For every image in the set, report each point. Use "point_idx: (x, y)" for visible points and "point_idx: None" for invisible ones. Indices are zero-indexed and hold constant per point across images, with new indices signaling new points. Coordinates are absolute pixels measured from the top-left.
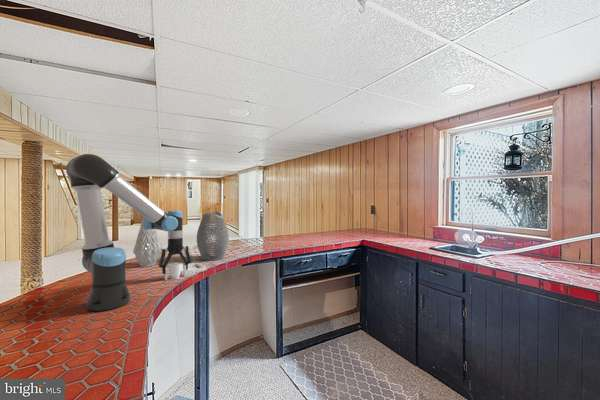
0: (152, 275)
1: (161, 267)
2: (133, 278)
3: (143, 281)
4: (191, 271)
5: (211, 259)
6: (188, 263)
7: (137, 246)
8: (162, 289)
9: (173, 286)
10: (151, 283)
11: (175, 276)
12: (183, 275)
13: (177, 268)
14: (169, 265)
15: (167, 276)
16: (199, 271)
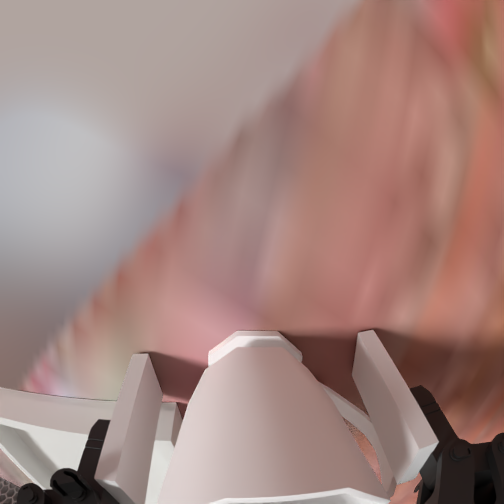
0: (374, 469)
1: (483, 445)
2: (463, 439)
3: (478, 374)
4: (76, 417)
5: (11, 497)
6: (60, 488)
7: None
8: (469, 18)
9: (367, 13)
10: (483, 296)
11: (269, 350)
12: (159, 388)
13: (255, 433)
14: (383, 497)
15: (336, 399)
16: (20, 396)
